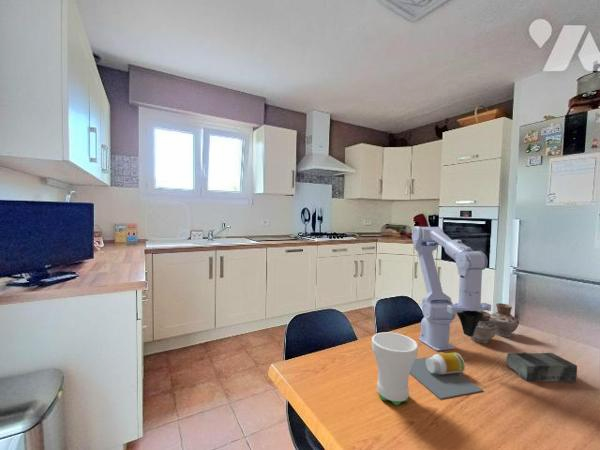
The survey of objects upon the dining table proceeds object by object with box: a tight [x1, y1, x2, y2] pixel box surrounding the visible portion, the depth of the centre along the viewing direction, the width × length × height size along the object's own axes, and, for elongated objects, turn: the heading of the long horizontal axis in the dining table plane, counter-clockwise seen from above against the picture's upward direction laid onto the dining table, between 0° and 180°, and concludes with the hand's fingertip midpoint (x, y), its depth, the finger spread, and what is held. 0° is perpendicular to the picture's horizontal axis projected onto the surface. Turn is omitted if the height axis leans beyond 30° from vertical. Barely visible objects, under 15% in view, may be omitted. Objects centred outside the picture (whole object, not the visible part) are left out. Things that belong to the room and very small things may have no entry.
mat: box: [409, 356, 484, 400], centre depth 80 cm, size 18×14×1 cm
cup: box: [371, 331, 419, 406], centre depth 70 cm, size 11×11×14 cm
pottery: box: [469, 302, 520, 344], centre depth 107 cm, size 11×25×12 cm, turn 114°
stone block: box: [506, 351, 578, 384], centre depth 82 cm, size 9×14×5 cm, turn 90°
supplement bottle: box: [426, 351, 466, 375], centre depth 81 cm, size 5×5×10 cm
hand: (468, 334), depth 84 cm, fingers closed
